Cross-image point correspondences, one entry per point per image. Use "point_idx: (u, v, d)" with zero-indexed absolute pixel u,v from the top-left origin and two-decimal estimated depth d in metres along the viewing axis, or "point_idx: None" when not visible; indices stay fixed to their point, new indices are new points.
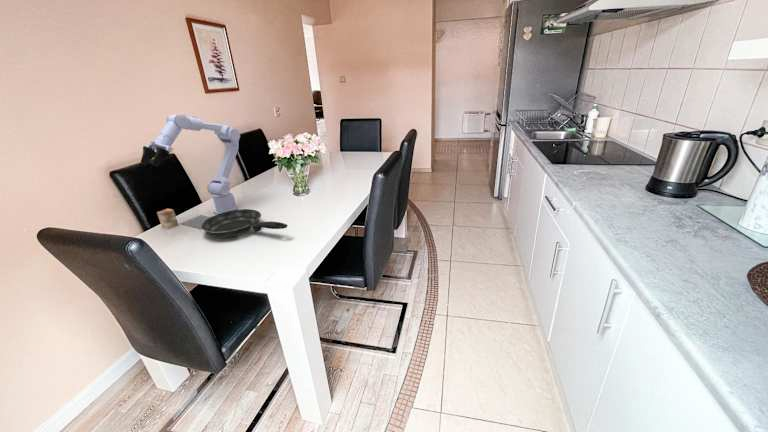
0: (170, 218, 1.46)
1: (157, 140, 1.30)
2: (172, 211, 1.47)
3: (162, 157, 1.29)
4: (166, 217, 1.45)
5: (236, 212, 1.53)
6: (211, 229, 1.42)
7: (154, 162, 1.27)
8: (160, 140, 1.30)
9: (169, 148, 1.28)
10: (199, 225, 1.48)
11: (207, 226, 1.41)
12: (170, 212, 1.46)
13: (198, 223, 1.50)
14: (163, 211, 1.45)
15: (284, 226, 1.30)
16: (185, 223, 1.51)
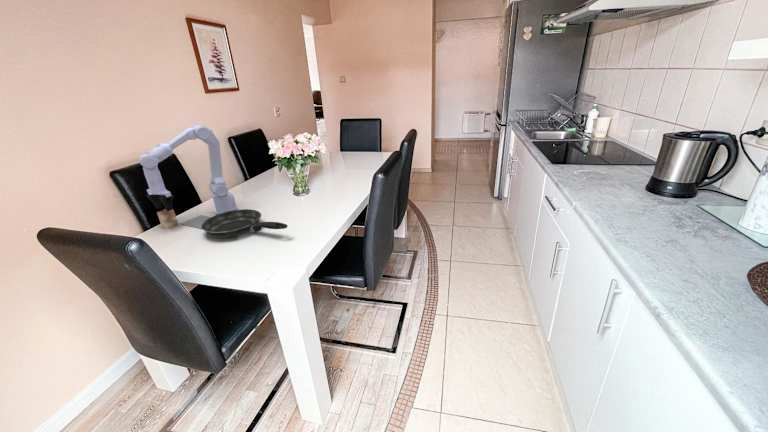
0: (170, 218, 1.46)
1: (152, 190, 1.39)
2: (172, 211, 1.47)
3: (168, 201, 1.43)
4: (166, 217, 1.45)
5: (236, 212, 1.53)
6: (211, 229, 1.42)
7: (168, 209, 1.43)
8: (154, 189, 1.39)
9: (167, 194, 1.39)
10: (199, 225, 1.48)
11: (207, 226, 1.41)
12: (170, 212, 1.46)
13: (198, 223, 1.50)
14: (163, 211, 1.45)
15: (284, 226, 1.30)
16: (185, 223, 1.51)
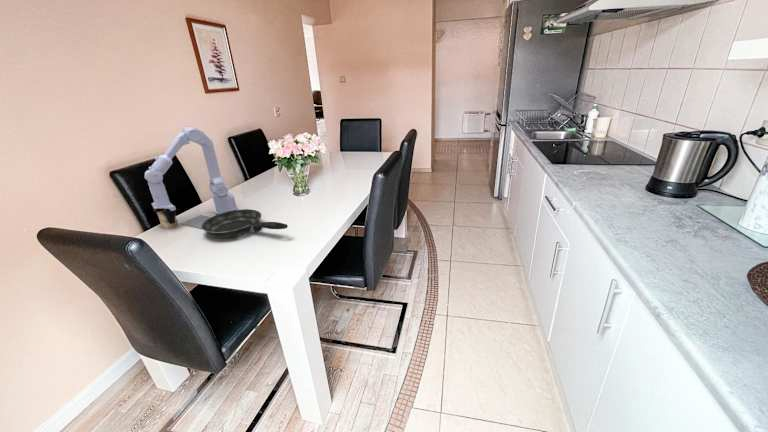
0: None
1: (157, 204, 1.42)
2: None
3: (171, 214, 1.46)
4: None
5: (237, 212, 1.53)
6: (211, 229, 1.42)
7: (171, 222, 1.46)
8: (159, 204, 1.42)
9: (172, 208, 1.42)
10: (199, 225, 1.48)
11: (207, 226, 1.41)
12: None
13: (198, 223, 1.50)
14: None
15: (284, 226, 1.30)
16: (185, 223, 1.51)
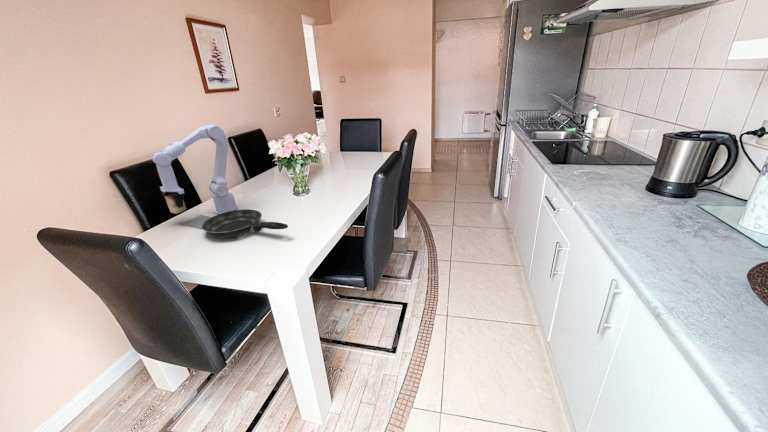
0: None
1: (165, 187, 1.42)
2: None
3: (180, 197, 1.46)
4: (174, 201, 1.45)
5: (237, 212, 1.52)
6: (212, 229, 1.42)
7: (179, 205, 1.46)
8: (168, 187, 1.42)
9: (180, 191, 1.42)
10: (199, 225, 1.48)
11: (208, 226, 1.41)
12: None
13: (198, 223, 1.50)
14: None
15: (284, 226, 1.30)
16: (185, 223, 1.51)
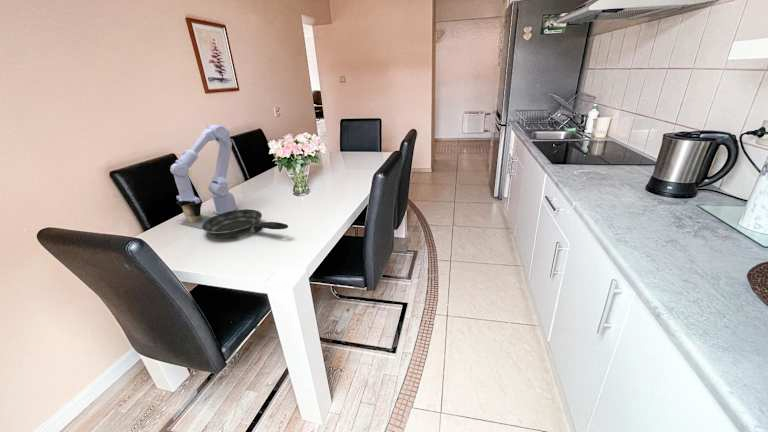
0: None
1: (182, 197, 1.47)
2: None
3: (197, 207, 1.50)
4: (191, 211, 1.50)
5: (237, 212, 1.52)
6: (212, 229, 1.42)
7: (196, 214, 1.51)
8: (184, 196, 1.47)
9: (197, 200, 1.47)
10: (199, 225, 1.48)
11: (208, 226, 1.41)
12: None
13: (198, 223, 1.50)
14: (188, 205, 1.51)
15: (285, 226, 1.29)
16: (185, 223, 1.51)
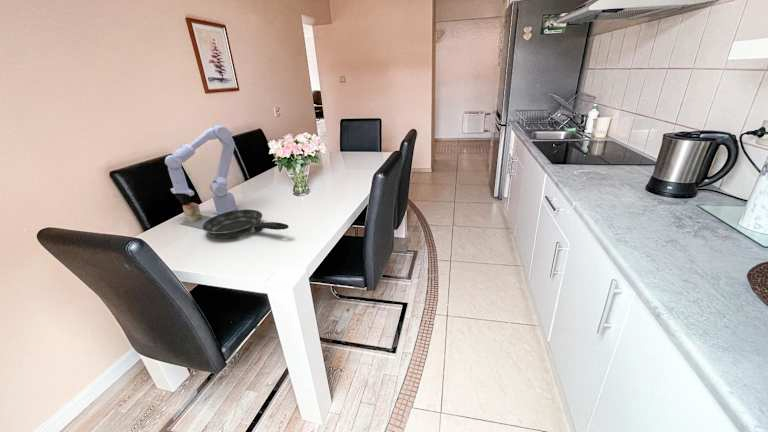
0: (195, 212, 1.51)
1: (176, 189, 1.46)
2: (197, 205, 1.52)
3: (186, 198, 1.52)
4: (191, 211, 1.50)
5: (238, 212, 1.52)
6: (212, 229, 1.42)
7: None
8: (178, 189, 1.46)
9: (191, 193, 1.46)
10: (199, 225, 1.48)
11: (208, 226, 1.41)
12: (195, 206, 1.51)
13: (198, 223, 1.50)
14: (188, 205, 1.50)
15: (285, 227, 1.29)
16: (185, 223, 1.51)
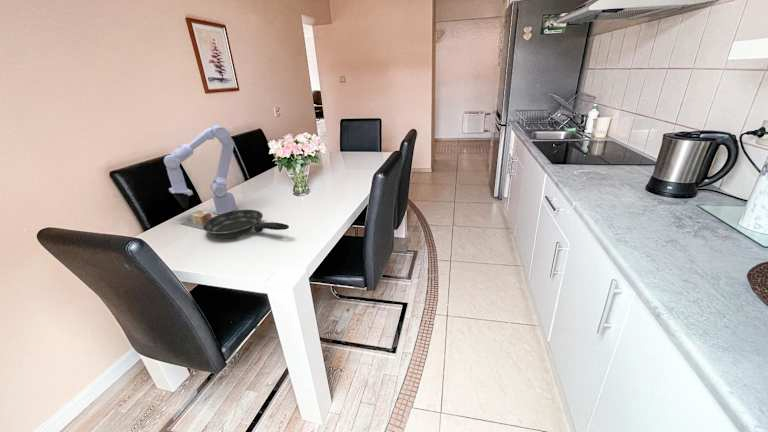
0: None
1: (175, 189, 1.47)
2: None
3: (185, 198, 1.52)
4: None
5: (238, 212, 1.52)
6: (213, 229, 1.42)
7: (184, 206, 1.52)
8: (177, 188, 1.47)
9: (189, 193, 1.47)
10: (199, 225, 1.48)
11: (209, 226, 1.41)
12: None
13: None
14: (205, 219, 1.49)
15: (285, 227, 1.29)
16: (185, 223, 1.51)
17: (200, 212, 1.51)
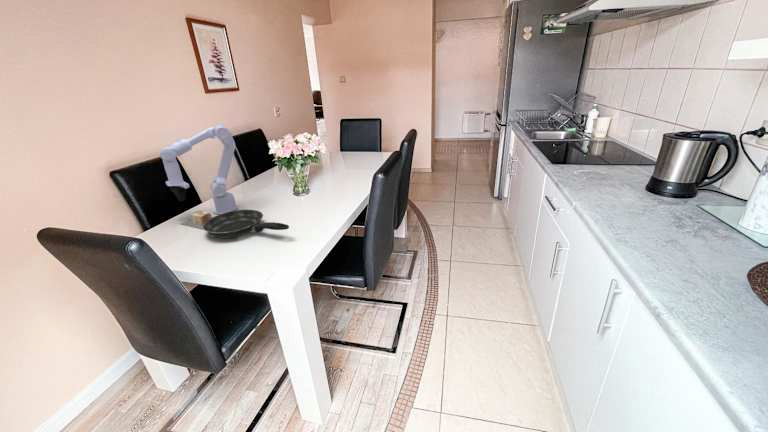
0: None
1: (171, 182, 1.46)
2: None
3: (182, 191, 1.51)
4: None
5: (238, 212, 1.52)
6: (213, 229, 1.42)
7: (181, 199, 1.51)
8: (173, 181, 1.46)
9: (186, 186, 1.46)
10: (199, 225, 1.48)
11: (209, 226, 1.41)
12: None
13: None
14: (205, 219, 1.49)
15: (286, 227, 1.29)
16: (185, 223, 1.51)
17: (200, 212, 1.51)
